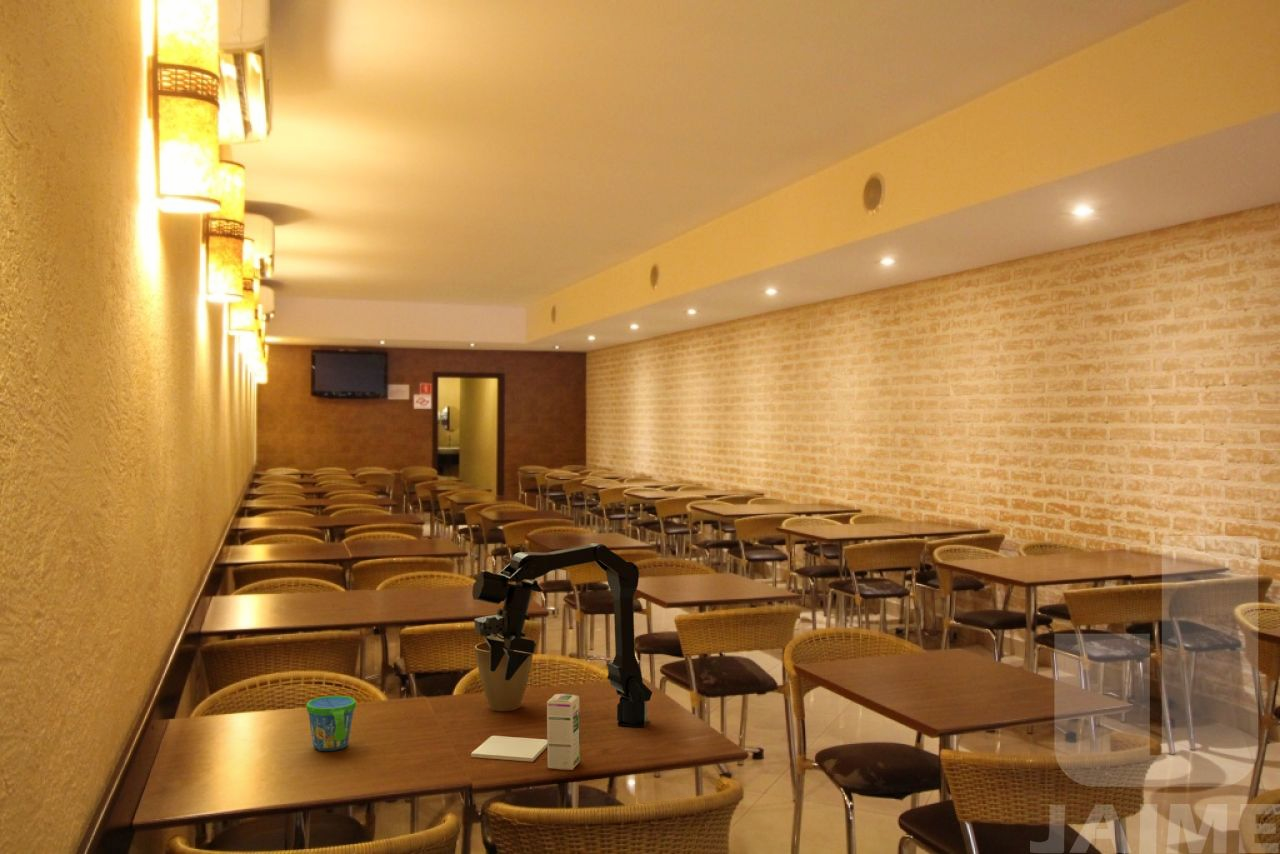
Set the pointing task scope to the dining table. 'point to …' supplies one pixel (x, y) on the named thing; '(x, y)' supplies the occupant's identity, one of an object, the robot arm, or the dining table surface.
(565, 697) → the syrup box
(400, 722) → the dining table surface
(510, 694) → the plant pot
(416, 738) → the dining table surface
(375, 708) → the dining table surface
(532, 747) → the cream mat
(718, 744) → the dining table surface
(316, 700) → the snack cup
